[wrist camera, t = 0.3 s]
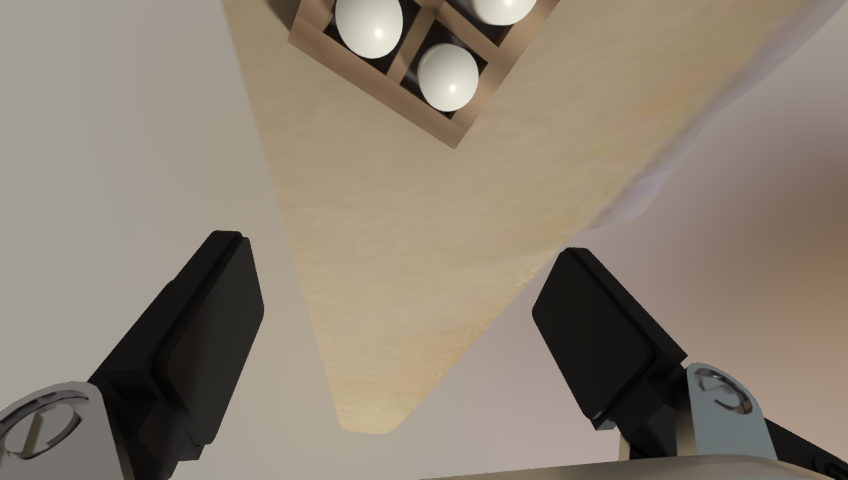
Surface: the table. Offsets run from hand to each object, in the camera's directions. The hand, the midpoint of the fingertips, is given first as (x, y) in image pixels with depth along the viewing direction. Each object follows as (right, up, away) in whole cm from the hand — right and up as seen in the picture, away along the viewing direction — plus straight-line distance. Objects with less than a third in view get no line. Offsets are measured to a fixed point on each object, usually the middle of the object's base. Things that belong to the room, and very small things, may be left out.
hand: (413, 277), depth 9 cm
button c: (-4, +20, +16) cm, 26 cm away
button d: (+2, +17, +19) cm, 26 cm away
